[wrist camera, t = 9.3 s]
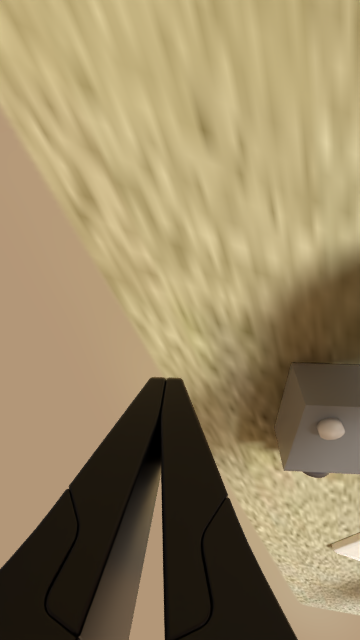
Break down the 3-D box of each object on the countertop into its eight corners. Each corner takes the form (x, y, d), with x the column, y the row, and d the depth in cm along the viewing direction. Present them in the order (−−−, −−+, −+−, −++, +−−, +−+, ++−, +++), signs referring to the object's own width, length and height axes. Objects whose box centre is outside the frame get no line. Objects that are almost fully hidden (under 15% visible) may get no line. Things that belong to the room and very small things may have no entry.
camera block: (428, 366, 23) (473, 418, 19) (383, 440, 28) (411, 492, 25) (291, 362, 23) (308, 412, 20) (272, 435, 29) (282, 485, 25)
